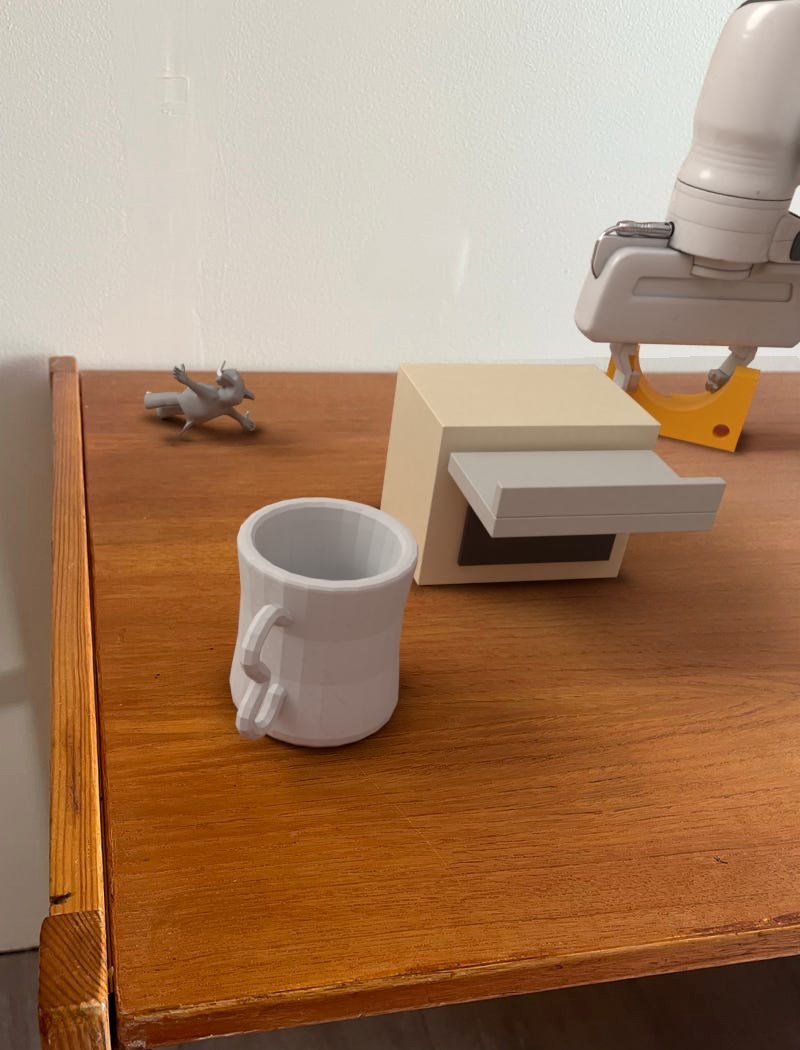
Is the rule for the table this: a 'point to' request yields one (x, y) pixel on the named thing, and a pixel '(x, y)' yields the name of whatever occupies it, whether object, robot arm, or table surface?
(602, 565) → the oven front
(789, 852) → the table surface
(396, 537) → the mug
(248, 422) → the grey sculpted figure
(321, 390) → the table surface
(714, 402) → the pipe clamp
